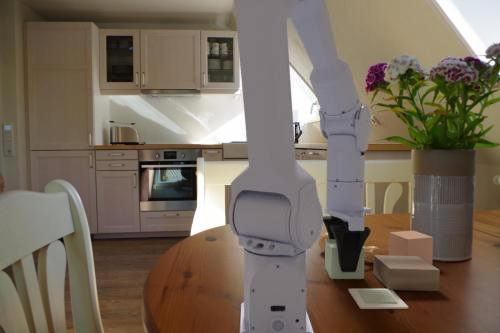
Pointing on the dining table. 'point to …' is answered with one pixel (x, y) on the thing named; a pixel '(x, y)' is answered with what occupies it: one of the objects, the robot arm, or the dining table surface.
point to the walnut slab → (406, 273)
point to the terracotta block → (411, 245)
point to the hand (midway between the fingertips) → (343, 265)
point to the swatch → (377, 299)
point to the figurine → (369, 250)
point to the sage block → (334, 266)
